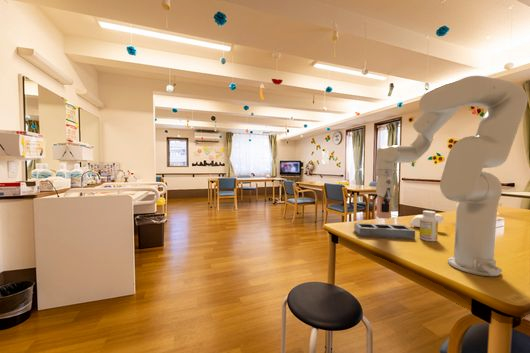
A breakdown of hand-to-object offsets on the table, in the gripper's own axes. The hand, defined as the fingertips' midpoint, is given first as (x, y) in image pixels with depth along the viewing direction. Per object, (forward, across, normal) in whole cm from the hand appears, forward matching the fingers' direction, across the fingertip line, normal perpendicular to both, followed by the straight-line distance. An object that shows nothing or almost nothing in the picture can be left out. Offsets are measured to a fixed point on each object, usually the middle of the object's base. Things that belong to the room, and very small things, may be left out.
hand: (383, 210), depth 108 cm
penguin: (+12, +16, -28) cm, 34 cm away
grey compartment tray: (+12, 0, 0) cm, 12 cm away
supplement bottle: (+12, -4, -18) cm, 22 cm away
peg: (+3, 0, 0) cm, 3 cm away
